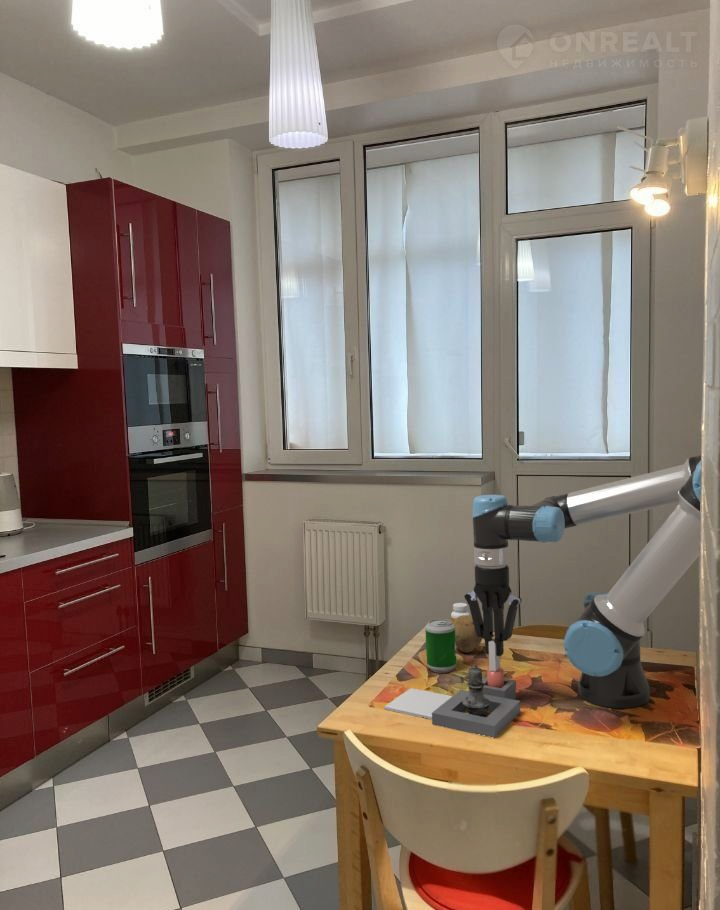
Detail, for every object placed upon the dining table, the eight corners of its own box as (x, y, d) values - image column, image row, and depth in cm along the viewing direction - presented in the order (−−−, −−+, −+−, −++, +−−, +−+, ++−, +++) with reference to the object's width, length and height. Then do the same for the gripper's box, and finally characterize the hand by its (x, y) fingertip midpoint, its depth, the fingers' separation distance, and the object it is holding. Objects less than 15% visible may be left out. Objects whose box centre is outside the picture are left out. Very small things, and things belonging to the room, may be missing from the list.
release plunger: (506, 694, 167) (506, 668, 167) (500, 700, 164) (499, 673, 164) (491, 691, 169) (491, 666, 169) (485, 697, 166) (484, 671, 166)
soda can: (455, 674, 184) (453, 627, 183) (425, 673, 185) (423, 626, 184) (457, 663, 191) (456, 618, 190) (428, 663, 193) (426, 617, 192)
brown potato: (442, 653, 199) (440, 617, 199) (460, 644, 206) (458, 609, 206) (471, 659, 194) (469, 622, 193) (488, 650, 200) (487, 613, 200)
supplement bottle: (466, 642, 208) (465, 608, 207) (448, 640, 210) (447, 606, 210) (473, 636, 213) (472, 603, 212) (456, 634, 215) (454, 601, 214)
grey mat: (457, 699, 168) (457, 697, 168) (432, 719, 158) (432, 717, 158) (410, 690, 175) (410, 688, 175) (384, 709, 165) (384, 706, 165)
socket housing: (531, 700, 166) (531, 683, 166) (494, 738, 148) (493, 718, 148) (474, 689, 173) (473, 673, 173) (432, 724, 156) (431, 705, 156)
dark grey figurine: (484, 726, 154) (482, 669, 153) (458, 721, 157) (456, 665, 156) (495, 715, 159) (493, 660, 158) (469, 710, 162) (467, 656, 161)
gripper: (457, 566, 165) (461, 669, 167) (513, 571, 158) (516, 679, 160) (471, 559, 171) (475, 659, 173) (525, 563, 164) (528, 668, 166)
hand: (495, 668), depth 166 cm, fingers closed
